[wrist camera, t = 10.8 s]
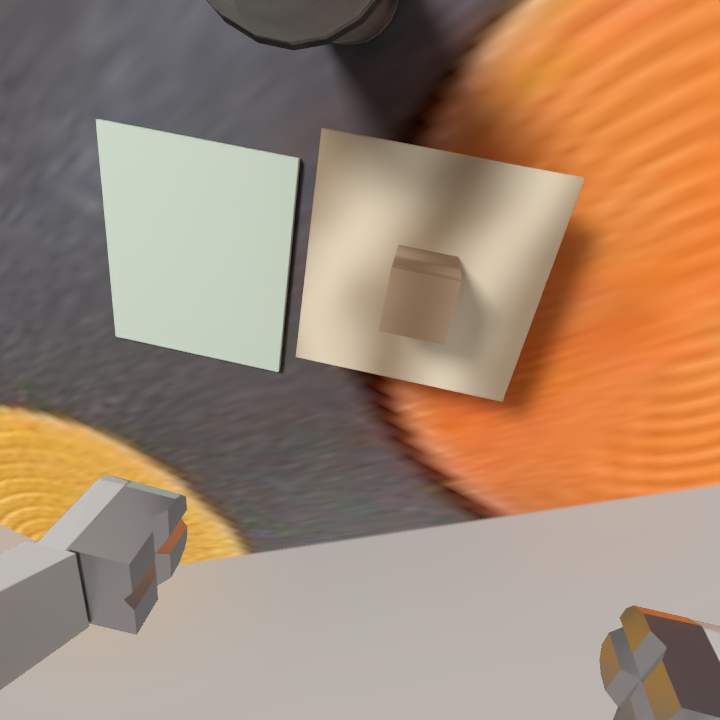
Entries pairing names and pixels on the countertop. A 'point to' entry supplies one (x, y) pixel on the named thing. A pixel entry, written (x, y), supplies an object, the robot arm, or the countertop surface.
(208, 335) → the mat
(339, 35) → the beverage cup
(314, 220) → the cover
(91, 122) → the countertop surface
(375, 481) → the countertop surface
